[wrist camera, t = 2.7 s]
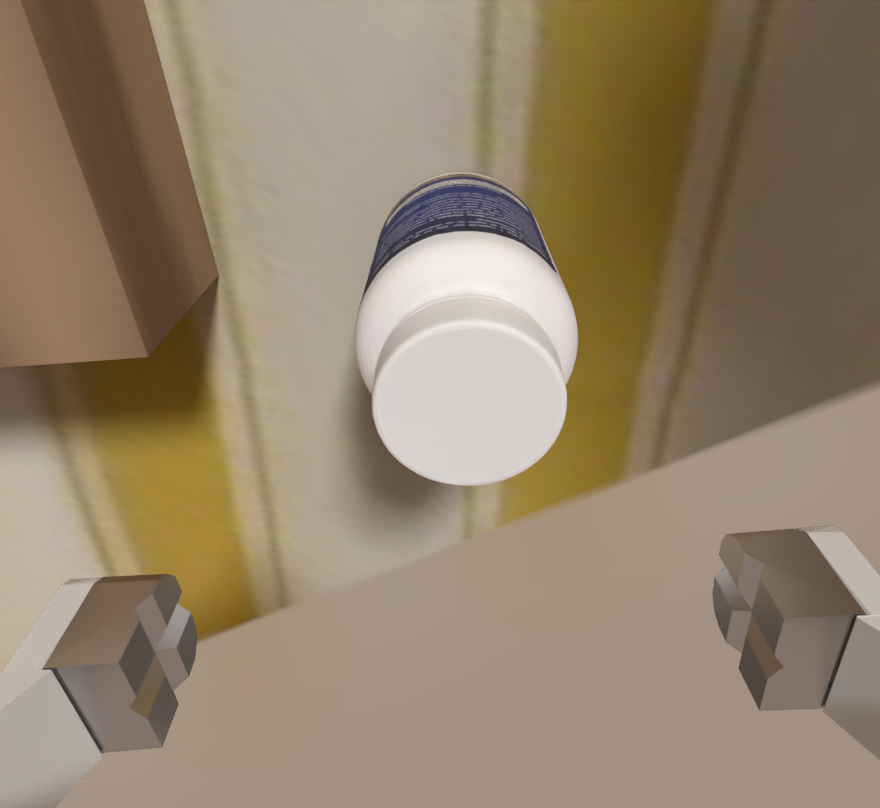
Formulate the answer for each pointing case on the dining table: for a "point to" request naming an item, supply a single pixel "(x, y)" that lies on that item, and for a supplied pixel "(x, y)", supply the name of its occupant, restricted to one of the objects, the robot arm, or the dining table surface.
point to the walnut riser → (91, 187)
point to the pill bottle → (465, 333)
